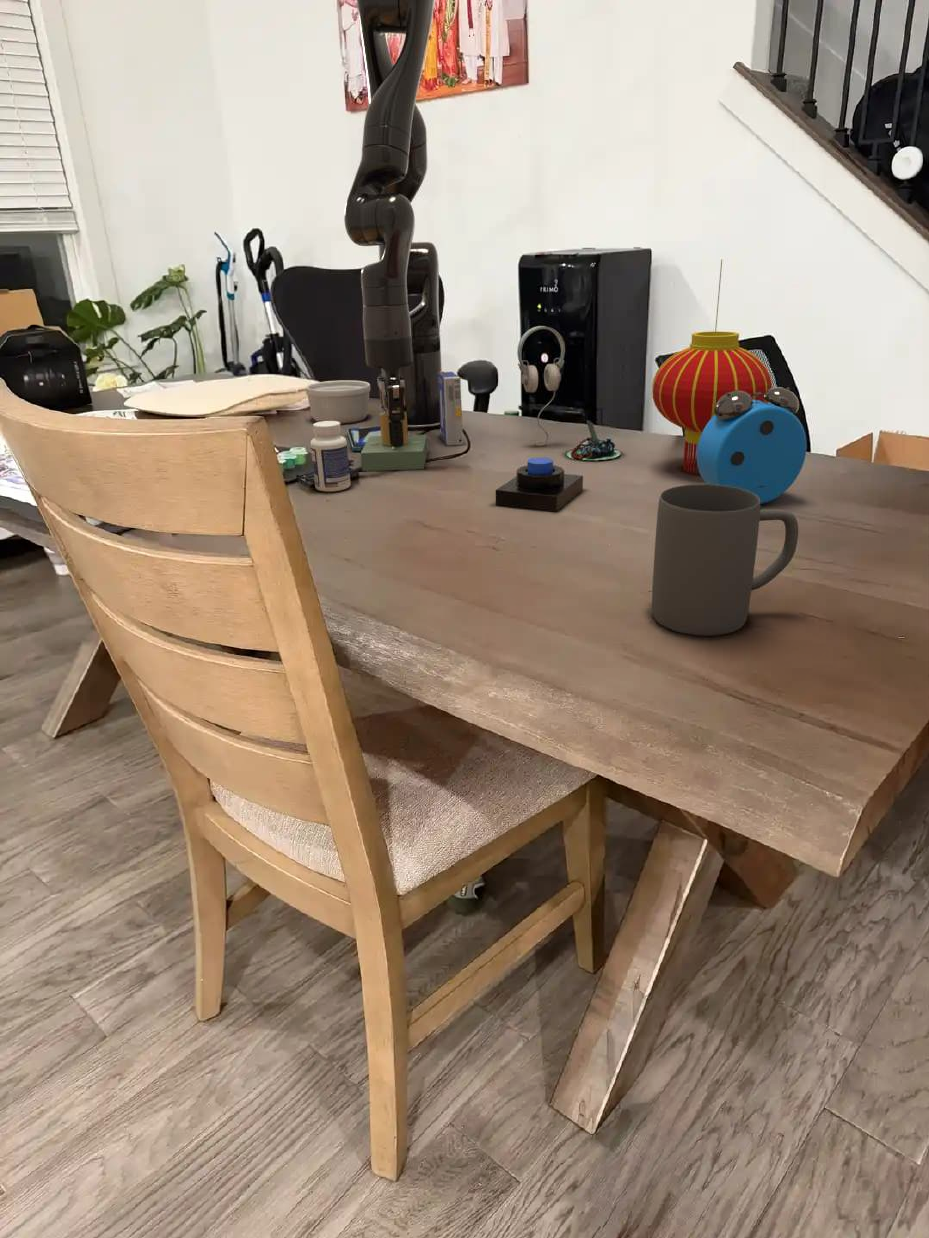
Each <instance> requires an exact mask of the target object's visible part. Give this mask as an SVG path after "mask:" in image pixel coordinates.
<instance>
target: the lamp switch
mask: <svg viewBox="0 0 929 1238" xmlns="http://www.w3.org/2000/svg"><path fill="white" fill-rule="evenodd" d="M583 487H584V476H583V475H581V474H580V475H578V474H569V473H565V470H564V468H563V467H561V466H559V465H554V464H553V473H548V474H531V473H528V472H527V465H523V466H520V467H519V468H517V469H516V476H515V477H513V478H512V479H510V480H509V481H507V482H506V483H504V484H503V485H501V486H499V487H498V488H496V489H495V506H500V507H501V506H502V507H509V508H518V509H527V510H536V511H545V512H558V511H559V510H560V509H562V508H563V507H564V506H565V505H566V504H568V503H569V502H570V501H571V500H573V499H574V498H575V497H576V496H577V495H579V494H580V493H581V492H582V491H583V490H584V488H583Z"/></svg>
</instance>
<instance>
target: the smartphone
mask: <svg viewBox="0 0 929 1238" xmlns="http://www.w3.org/2000/svg"><path fill="white" fill-rule="evenodd" d="M346 433H347V437H348V440H349V443H350V446H351V450H352V451H354V452H362V450H363V448H364V446H365V444H366V442H367V440H368V439H369V437H370V436H381V425H377V426H365V427H351V428H347V429H346Z"/></svg>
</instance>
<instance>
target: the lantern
mask: <svg viewBox="0 0 929 1238" xmlns="http://www.w3.org/2000/svg"><path fill="white" fill-rule="evenodd" d="M722 268H723V259H720V270H719V271H720V272H719V281H718V293H717V294H718V295H717V306H716V315H715V316H716V317H715V318H716V319H715V327H714V328H715V329H714V331H711V330H710V331H698V332H693V333H691V343H689V347H687V348H684V349H682V350H679V351H678V352H676V353H674V354H672V355H671V356H670V357H668V358H667V359H665V361H664V362H663V363H661V365H660V366H659V367H658V369H657V371H656V373H655V375H654V377H653V380H652V385H651V388H652V390H651V393H652V400H653V403H654V406H655V408H656V409H657V412H658V413H660V415H661V416H662V417H663V418H664V419H666V420H667V421H668V422H669V423H671V424H673V425H675V426H677V427H679V428H681V429H684V435H685V439H684V450H683V451H684V452H683V462H682V470H683V471H684V472H687V473H689V474H694V475H698V473H699V475H700V472H699V469H698V465H697V448H698V443H699V440H700V437H701V434H702V432H703V430H704V428H705V427H706V425H707V424H708V422H709V421H710V420H711V418H712V417H713V416H714V415H715V413H714V408H715V404H716V402H717V401H718V400H719V398H720V397H721V396H723V395H724V394H726V393H727V392H731V391H735V390H740V391H744V392H746V393H748V394H749V395H750V396H751V398H752V400H756V398H757V400H759V401H762V402H765V403H769V402H768V401H766V400H764V399H763V398H762V395H763V394H764V392H766V391H767V390H768V389H770V388H773V380H772V377H771V374H770V372H769V370H768V369H767V366H766V365H765V364H764V362H762V360H761V359H760V358H759V357H757V356H756V355H755V354H754V353H753V352H751V351H749V350H747V349H745V348H744V347H743V348H742V347H740V343H739V339H740V333H739V332H735V331H719V330H717V327H718V315H719V314H718V313H719V302H720V293H721V292H720V291H721V279H722ZM753 393H761V395H760V396H753Z"/></svg>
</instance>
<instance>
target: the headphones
mask: <svg viewBox="0 0 929 1238" xmlns="http://www.w3.org/2000/svg"><path fill="white" fill-rule="evenodd" d="M539 330H548V331H550V332H552V333H553V334H554V335H555V336H556V338H557V340H558V343H559V346H560V356H559V357H555V358H554V359H553V363H548V364H547V363H546V366H544V367H545V368H544V372H543V381H544V382H543V383H544V386H545V389H546V390H547V391H549V392H553V396H552V398H551V399H550V400H549V402H547V404H545V405H544V406H543V407H542V408H541V410H540V411H539V413H538V415H537V420H536V421H537V425H538V426H539V428H540V429H541V430H542V431H543V432H544V433H545V435H546V439H545V441H544V443H542V444H536V443H533V445H534V446H536V447H542V446H545V445H546V444H547V442H548V440H549V434H548V432H547V431H546V429H544V428H543V427H542V426H541V424H540V421H539V420H540V416H541V413H542V412H543V411H544V410H545V408H546V407H547V406H549V404H551V403H552V402H553V400H554V398H555V396H556V391H557V390H558V389H559V386H560V382H561V381H562V374H561V371H560V370H561V368H563V366H564V363H565V359H564V358H565V355H566V354H565V353H566V345H565V341H564V339H563V336H562V335H561V334H560V333H559V332H558V331H557V330H556V329H554V328H553V327H549V326H545V325H538V326H534V327H532V328H530V329H528V330H526V332H525V333H523V335H522V336H521V338H520V339H519V341H518V345H517V350H516V351H517V352H516V353H517V360H518V362H517V366H518V368H519V370H520V371H521V373H522V374H521V378H520V379H521V384H522V385H523V388H524V390H525V392H526V393H535V392H536V391H537V389H538V387H539V386H538V385H539V371H538V369H537V367H536V366H535V365H534V364H533V365H532V364H530V363H529V361H528V360H527V359H522V350H523V346H524V344H525V342H526V340H527V338H528V337H529V336H530V335H531V334H533V333H534V332H537V331H539ZM556 360H558V361H556ZM524 362H526V363H527V365H526V364H524Z"/></svg>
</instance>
